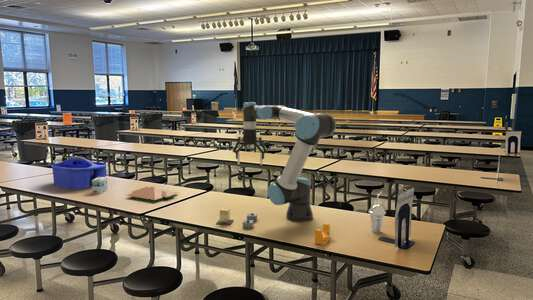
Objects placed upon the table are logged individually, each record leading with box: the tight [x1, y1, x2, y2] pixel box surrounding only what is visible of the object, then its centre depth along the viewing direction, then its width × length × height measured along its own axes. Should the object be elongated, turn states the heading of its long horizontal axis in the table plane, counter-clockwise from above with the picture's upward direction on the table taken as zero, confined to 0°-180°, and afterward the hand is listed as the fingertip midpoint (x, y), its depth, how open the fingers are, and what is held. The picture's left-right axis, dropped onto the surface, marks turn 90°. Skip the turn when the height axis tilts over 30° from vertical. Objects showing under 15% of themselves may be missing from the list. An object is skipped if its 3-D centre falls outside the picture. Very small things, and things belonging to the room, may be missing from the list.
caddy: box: [50, 155, 108, 190], centre depth 293 cm, size 32×45×23 cm
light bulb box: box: [91, 176, 109, 195], centre depth 270 cm, size 11×7×11 cm, turn 179°
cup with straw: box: [368, 190, 387, 234], centre depth 190 cm, size 8×9×20 cm
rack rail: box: [242, 212, 258, 229], centre depth 202 cm, size 5×16×4 cm, turn 172°
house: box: [126, 186, 179, 203], centre depth 257 cm, size 23×33×8 cm
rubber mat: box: [215, 218, 234, 226], centre depth 205 cm, size 8×8×1 cm
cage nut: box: [219, 207, 231, 223], centre depth 204 cm, size 4×6×7 cm
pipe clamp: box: [314, 222, 331, 246], centre depth 179 cm, size 12×4×6 cm, turn 149°
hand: (249, 164), depth 221 cm, fingers open, 13 cm apart
